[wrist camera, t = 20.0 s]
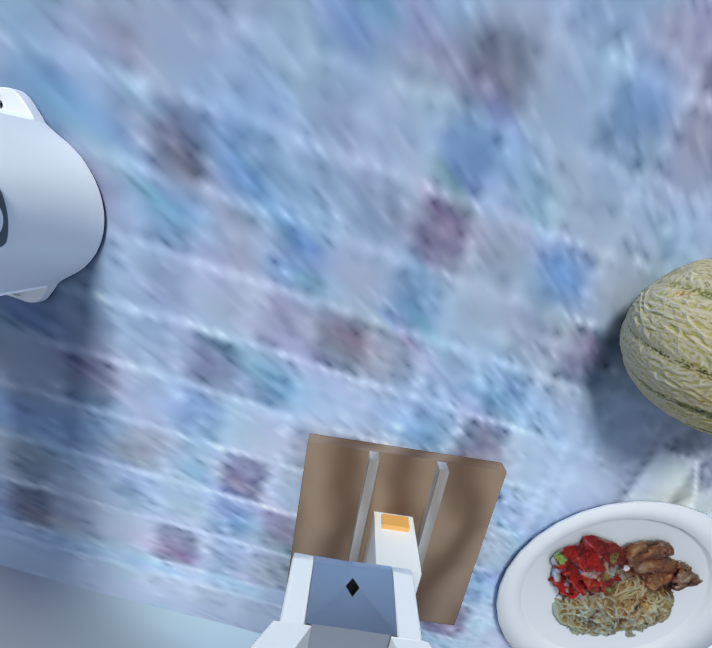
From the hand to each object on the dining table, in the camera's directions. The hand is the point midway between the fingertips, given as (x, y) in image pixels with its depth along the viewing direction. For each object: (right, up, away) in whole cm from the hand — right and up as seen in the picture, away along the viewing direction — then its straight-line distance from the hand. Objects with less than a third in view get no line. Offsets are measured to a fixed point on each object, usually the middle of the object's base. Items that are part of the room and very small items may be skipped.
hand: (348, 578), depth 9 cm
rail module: (+4, -19, +35) cm, 40 cm away
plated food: (+33, -27, +39) cm, 58 cm away
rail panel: (+4, -19, +36) cm, 41 cm away
